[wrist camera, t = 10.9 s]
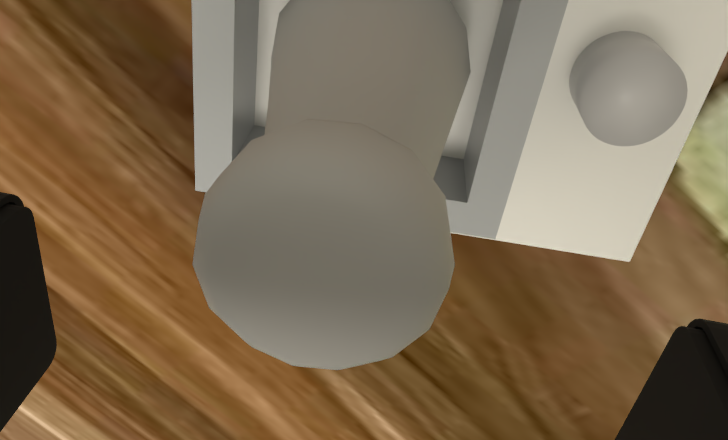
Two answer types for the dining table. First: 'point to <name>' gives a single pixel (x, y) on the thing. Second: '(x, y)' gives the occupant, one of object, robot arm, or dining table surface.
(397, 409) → the dining table surface
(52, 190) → the dining table surface
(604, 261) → the dining table surface
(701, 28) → the housing
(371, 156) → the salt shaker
